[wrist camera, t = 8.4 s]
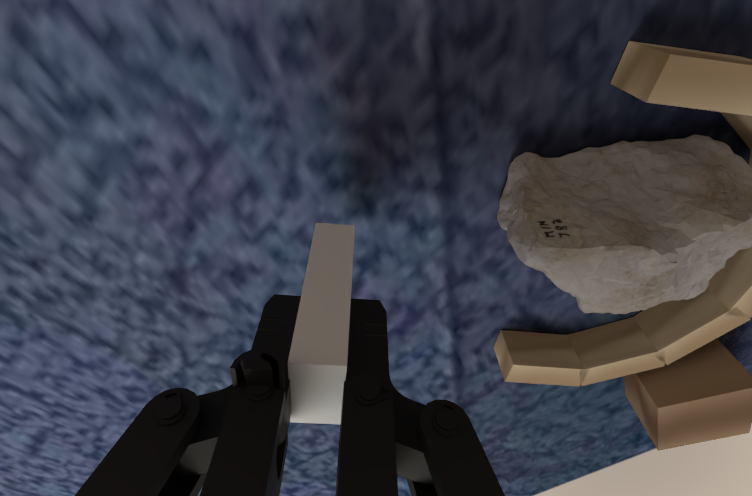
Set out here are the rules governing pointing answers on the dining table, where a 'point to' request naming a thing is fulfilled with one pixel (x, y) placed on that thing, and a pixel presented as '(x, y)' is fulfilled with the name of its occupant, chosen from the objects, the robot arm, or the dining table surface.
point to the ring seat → (668, 319)
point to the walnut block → (693, 398)
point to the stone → (630, 219)
